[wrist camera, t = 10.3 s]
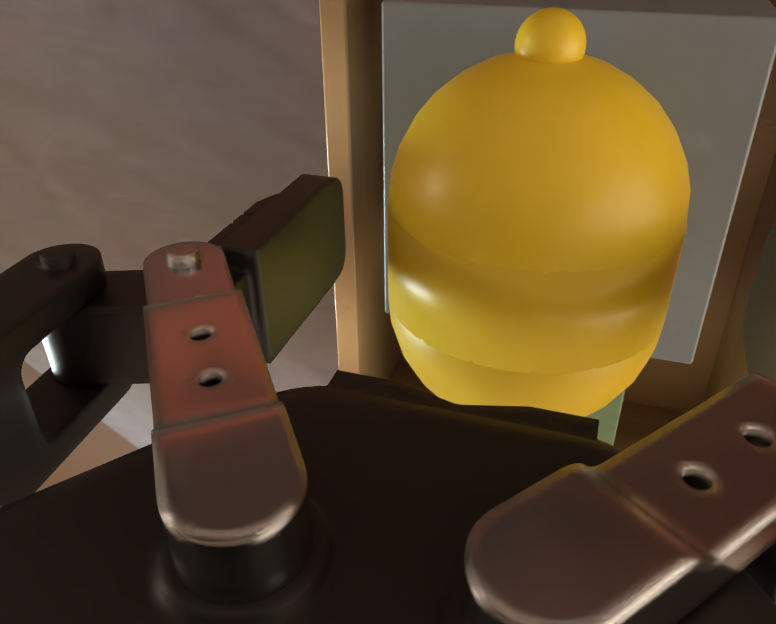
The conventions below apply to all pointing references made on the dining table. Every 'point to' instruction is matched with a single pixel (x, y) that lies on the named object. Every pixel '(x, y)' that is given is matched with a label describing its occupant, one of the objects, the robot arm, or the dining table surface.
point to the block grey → (642, 62)
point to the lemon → (536, 227)
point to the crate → (366, 237)
